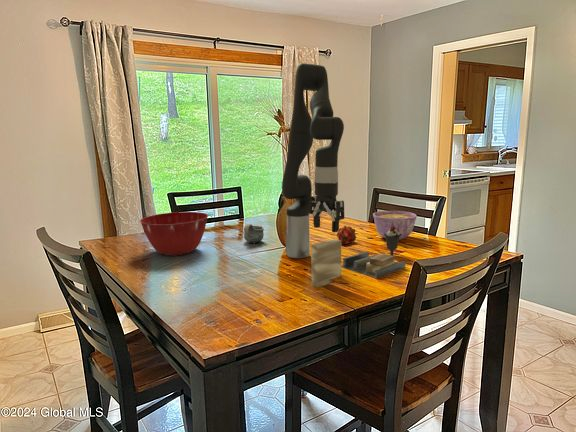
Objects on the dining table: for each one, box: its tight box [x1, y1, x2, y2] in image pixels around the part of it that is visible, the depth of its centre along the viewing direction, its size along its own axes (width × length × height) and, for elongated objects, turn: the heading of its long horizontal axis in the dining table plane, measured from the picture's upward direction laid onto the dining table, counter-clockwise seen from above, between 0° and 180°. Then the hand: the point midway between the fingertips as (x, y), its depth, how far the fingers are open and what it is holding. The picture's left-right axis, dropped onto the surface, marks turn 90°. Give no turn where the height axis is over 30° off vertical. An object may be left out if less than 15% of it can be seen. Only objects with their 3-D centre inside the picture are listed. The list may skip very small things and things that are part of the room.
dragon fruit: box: [336, 225, 357, 246], centre depth 191 cm, size 8×8×12 cm
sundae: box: [384, 223, 401, 257], centre depth 165 cm, size 7×7×15 cm
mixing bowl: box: [139, 211, 209, 256], centre depth 182 cm, size 28×28×16 cm
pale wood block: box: [310, 238, 342, 288], centre depth 140 cm, size 3×11×14 cm, turn 129°
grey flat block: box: [366, 259, 399, 274], centre depth 148 cm, size 6×10×3 cm, turn 129°
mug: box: [243, 223, 265, 244], centre depth 194 cm, size 10×12×10 cm
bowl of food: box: [372, 210, 417, 241], centre depth 198 cm, size 20×20×12 cm
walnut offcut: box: [370, 253, 395, 267], centre depth 147 cm, size 5×8×2 cm, turn 137°
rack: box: [341, 251, 406, 279], centre depth 152 cm, size 17×16×4 cm
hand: (325, 229), depth 138 cm, fingers open, 8 cm apart
